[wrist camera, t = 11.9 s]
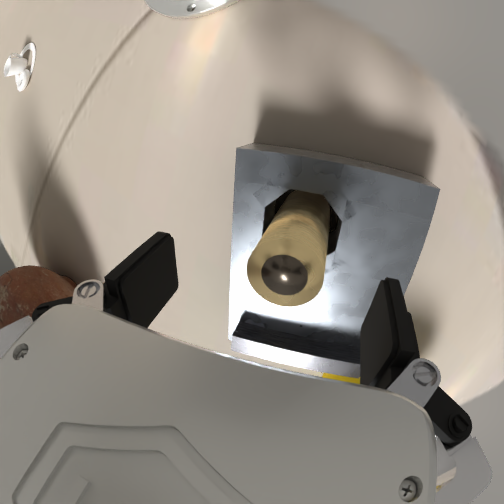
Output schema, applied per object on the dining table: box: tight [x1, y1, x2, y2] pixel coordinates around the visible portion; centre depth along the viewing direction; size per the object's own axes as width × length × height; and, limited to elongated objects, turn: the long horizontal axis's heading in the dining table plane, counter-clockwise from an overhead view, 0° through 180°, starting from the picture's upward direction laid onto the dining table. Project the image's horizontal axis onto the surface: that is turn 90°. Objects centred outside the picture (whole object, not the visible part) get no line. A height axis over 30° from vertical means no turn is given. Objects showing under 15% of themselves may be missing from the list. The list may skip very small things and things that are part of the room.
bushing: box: [247, 190, 330, 307], centre depth 18 cm, size 4×4×10 cm
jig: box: [228, 143, 440, 379], centre depth 21 cm, size 18×14×6 cm
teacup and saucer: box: [4, 43, 36, 91], centre depth 21 cm, size 9×8×4 cm
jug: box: [0, 266, 77, 329], centre depth 28 cm, size 22×22×30 cm
